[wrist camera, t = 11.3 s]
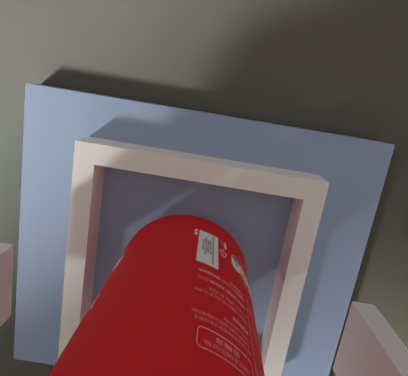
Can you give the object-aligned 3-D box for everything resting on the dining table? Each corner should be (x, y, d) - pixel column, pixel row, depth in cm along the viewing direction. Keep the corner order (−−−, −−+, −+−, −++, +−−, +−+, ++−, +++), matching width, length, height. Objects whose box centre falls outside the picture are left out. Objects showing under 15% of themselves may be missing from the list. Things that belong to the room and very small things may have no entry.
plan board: (26, 342, 19) (-5, 381, 16) (39, 84, 16) (4, 81, 13) (312, 390, 19) (328, 437, 16) (381, 141, 16) (414, 149, 13)
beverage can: (242, 316, 17) (299, 812, 5) (129, 312, 17) (-63, 786, 5) (246, 207, 16) (335, 537, 4) (125, 205, 16) (-139, 514, 4)
